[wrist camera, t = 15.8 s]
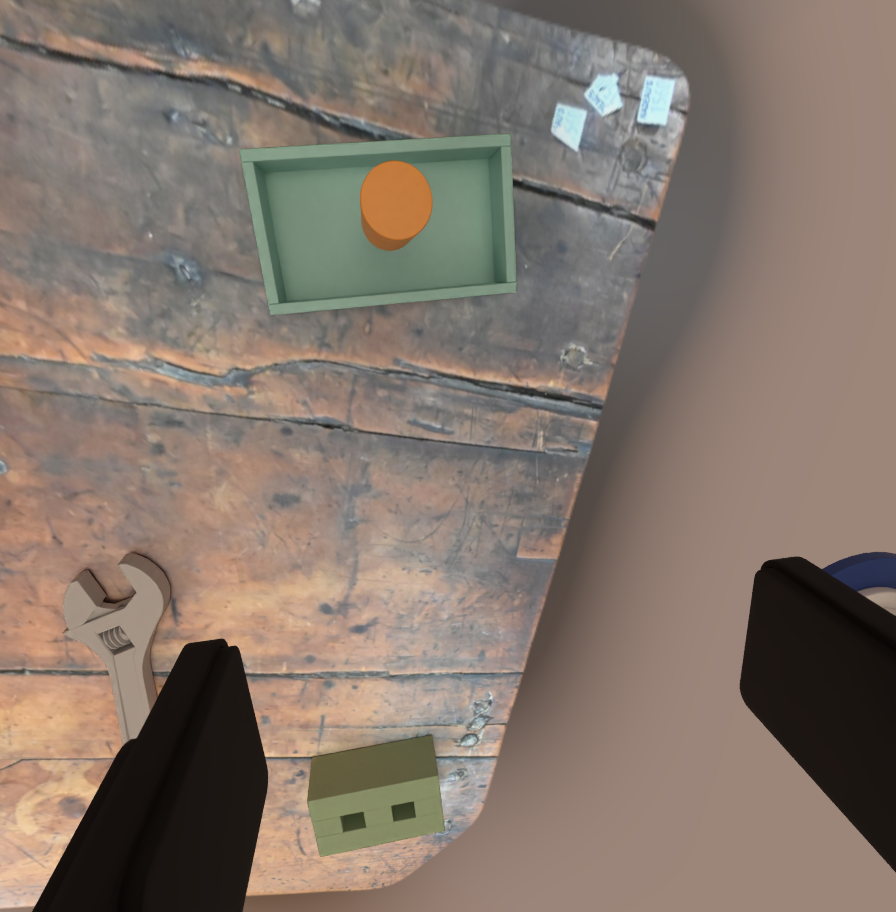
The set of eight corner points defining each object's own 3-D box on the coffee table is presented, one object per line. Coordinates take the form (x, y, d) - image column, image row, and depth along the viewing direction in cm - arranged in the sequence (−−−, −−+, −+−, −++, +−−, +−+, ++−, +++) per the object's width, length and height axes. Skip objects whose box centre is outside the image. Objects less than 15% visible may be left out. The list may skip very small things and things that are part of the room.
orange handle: (406, 202, 31) (429, 157, 20) (411, 253, 32) (435, 237, 21) (358, 206, 31) (355, 162, 19) (365, 257, 32) (365, 243, 20)
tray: (252, 163, 30) (238, 148, 26) (495, 149, 31) (511, 133, 28) (280, 312, 32) (270, 315, 29) (502, 291, 34) (517, 292, 31)
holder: (311, 757, 44) (306, 801, 40) (432, 734, 45) (438, 775, 41) (323, 810, 46) (320, 857, 42) (438, 787, 47) (445, 831, 43)
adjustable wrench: (182, 819, 44) (174, 841, 42) (98, 823, 43) (87, 845, 41) (170, 556, 36) (160, 569, 35) (67, 553, 35) (52, 566, 34)
